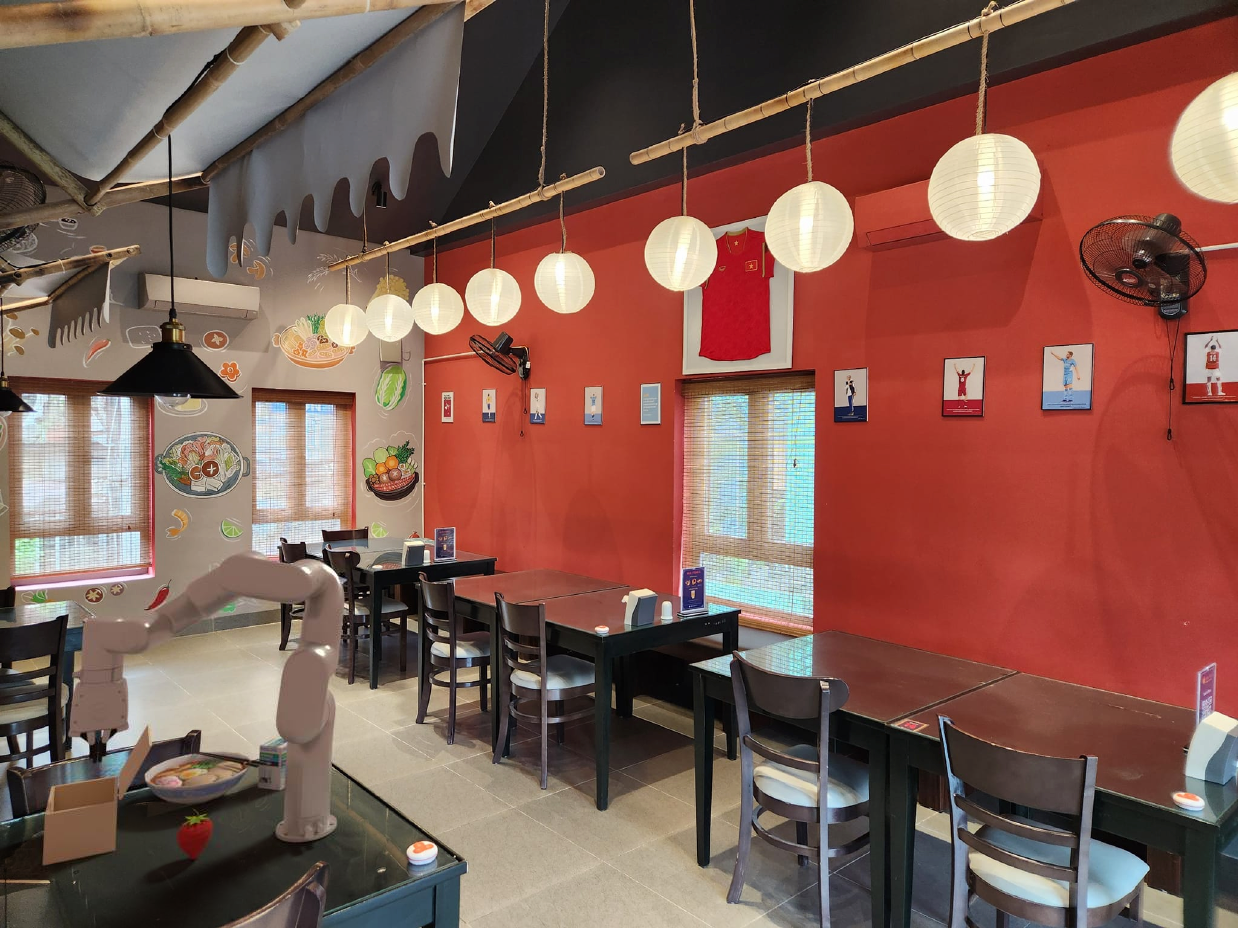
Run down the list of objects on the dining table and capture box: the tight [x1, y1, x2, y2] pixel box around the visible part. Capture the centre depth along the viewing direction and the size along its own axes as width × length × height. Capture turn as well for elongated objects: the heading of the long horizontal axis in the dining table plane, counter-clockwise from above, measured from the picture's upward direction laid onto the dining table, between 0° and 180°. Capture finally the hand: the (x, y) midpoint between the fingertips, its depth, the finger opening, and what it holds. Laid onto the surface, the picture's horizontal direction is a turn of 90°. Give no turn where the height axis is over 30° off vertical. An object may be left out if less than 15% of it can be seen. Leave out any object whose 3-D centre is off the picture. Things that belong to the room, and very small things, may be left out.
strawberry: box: [176, 808, 214, 860], centre depth 153 cm, size 6×8×10 cm
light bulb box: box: [257, 735, 287, 791], centre depth 193 cm, size 11×7×11 cm, turn 168°
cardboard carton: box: [42, 775, 119, 866], centre depth 159 cm, size 16×12×10 cm
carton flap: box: [118, 724, 153, 801], centre depth 164 cm, size 16×12×1 cm
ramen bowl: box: [144, 749, 265, 805], centre depth 182 cm, size 25×23×8 cm
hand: (97, 760), depth 161 cm, fingers closed
